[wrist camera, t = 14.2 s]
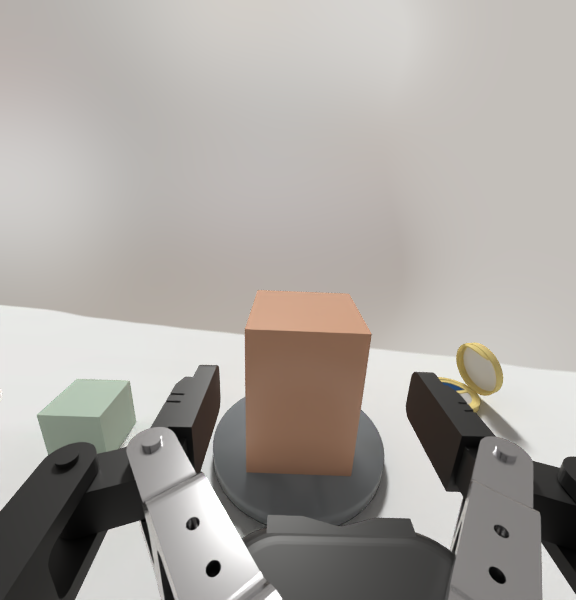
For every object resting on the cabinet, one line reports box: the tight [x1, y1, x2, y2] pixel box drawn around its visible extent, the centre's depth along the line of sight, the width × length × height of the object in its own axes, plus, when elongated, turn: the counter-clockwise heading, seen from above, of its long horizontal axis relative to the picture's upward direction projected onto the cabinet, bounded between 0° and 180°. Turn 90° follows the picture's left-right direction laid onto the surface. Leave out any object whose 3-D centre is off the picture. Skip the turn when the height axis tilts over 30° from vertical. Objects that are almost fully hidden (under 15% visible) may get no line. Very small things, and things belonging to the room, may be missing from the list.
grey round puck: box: [213, 397, 384, 526], centre depth 21 cm, size 11×11×1 cm
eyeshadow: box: [438, 343, 503, 413], centre depth 26 cm, size 4×5×5 cm
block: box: [37, 379, 136, 455], centre depth 20 cm, size 4×4×4 cm
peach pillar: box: [245, 290, 371, 476], centre depth 19 cm, size 6×6×9 cm
